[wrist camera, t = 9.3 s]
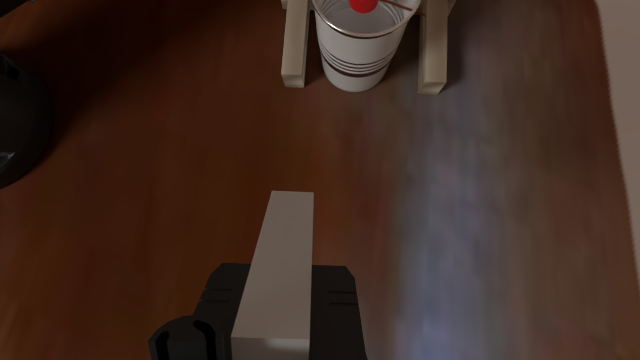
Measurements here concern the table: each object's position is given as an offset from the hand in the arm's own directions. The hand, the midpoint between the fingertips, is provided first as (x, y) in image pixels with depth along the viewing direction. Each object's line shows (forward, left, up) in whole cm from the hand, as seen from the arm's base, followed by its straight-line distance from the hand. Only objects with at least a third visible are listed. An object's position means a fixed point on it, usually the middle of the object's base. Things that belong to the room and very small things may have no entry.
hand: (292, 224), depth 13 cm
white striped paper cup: (+3, +18, -22) cm, 29 cm away
